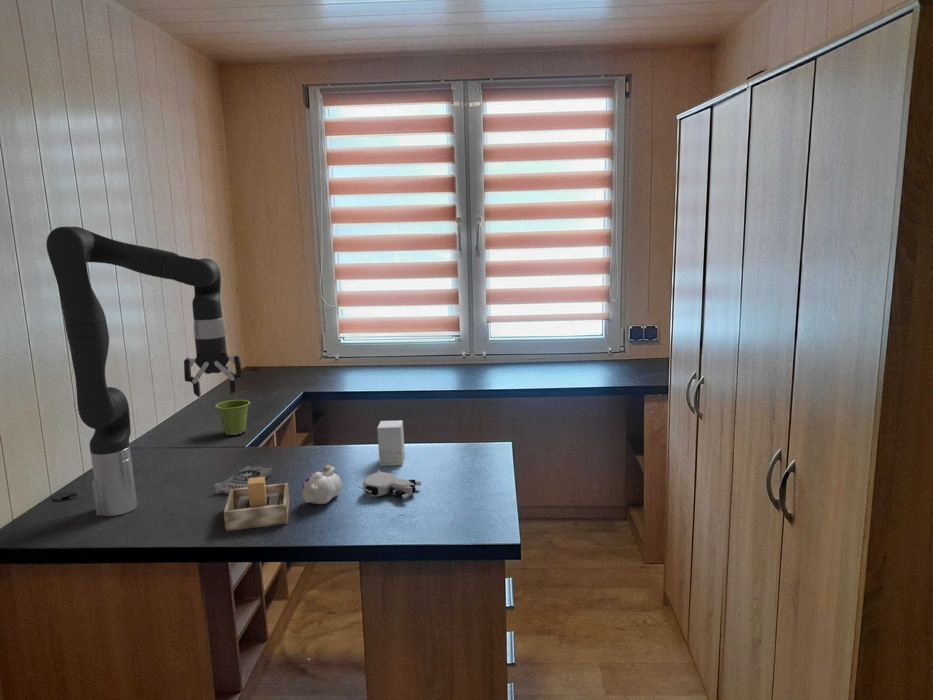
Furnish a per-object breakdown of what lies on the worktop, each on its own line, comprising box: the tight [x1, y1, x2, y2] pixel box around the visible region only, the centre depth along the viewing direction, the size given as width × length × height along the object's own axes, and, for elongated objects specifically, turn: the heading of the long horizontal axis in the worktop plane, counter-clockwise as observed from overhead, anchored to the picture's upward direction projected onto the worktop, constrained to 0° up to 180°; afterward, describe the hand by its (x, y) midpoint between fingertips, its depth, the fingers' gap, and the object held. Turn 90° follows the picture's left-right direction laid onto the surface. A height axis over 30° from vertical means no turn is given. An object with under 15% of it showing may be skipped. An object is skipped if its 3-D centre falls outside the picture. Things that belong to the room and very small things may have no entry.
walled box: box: [223, 482, 290, 532], centre depth 174 cm, size 15×15×5 cm
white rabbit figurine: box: [301, 464, 343, 505], centre depth 182 cm, size 10×8×15 cm
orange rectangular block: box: [248, 477, 267, 507], centre depth 174 cm, size 4×4×9 cm
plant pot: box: [214, 399, 251, 434], centre depth 242 cm, size 12×12×11 cm
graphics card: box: [214, 465, 273, 496], centre depth 195 cm, size 17×4×12 cm
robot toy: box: [357, 470, 422, 500], centre depth 186 cm, size 12×4×15 cm
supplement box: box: [376, 420, 406, 467], centre depth 209 cm, size 7×7×13 cm
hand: (215, 394), depth 179 cm, fingers open, 8 cm apart
